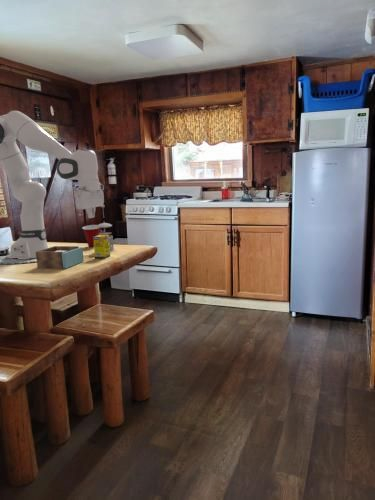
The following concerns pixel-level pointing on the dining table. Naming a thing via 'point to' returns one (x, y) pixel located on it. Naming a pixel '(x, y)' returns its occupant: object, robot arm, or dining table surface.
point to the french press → (107, 233)
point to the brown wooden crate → (52, 257)
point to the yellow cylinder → (101, 246)
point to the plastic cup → (91, 233)
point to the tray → (72, 257)
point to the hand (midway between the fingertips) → (91, 217)
